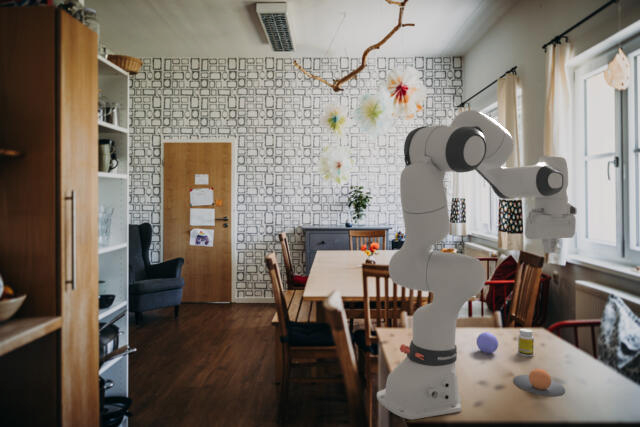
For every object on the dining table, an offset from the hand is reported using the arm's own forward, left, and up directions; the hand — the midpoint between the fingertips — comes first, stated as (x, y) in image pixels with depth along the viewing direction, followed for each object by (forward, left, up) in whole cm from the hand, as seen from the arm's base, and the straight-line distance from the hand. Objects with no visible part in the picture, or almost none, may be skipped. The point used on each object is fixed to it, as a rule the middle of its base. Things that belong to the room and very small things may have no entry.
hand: (549, 253), depth 123 cm
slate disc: (-12, -5, -37) cm, 39 cm away
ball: (-14, -6, -34) cm, 37 cm away
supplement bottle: (+7, +12, -37) cm, 40 cm away
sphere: (-4, +19, -37) cm, 42 cm away
